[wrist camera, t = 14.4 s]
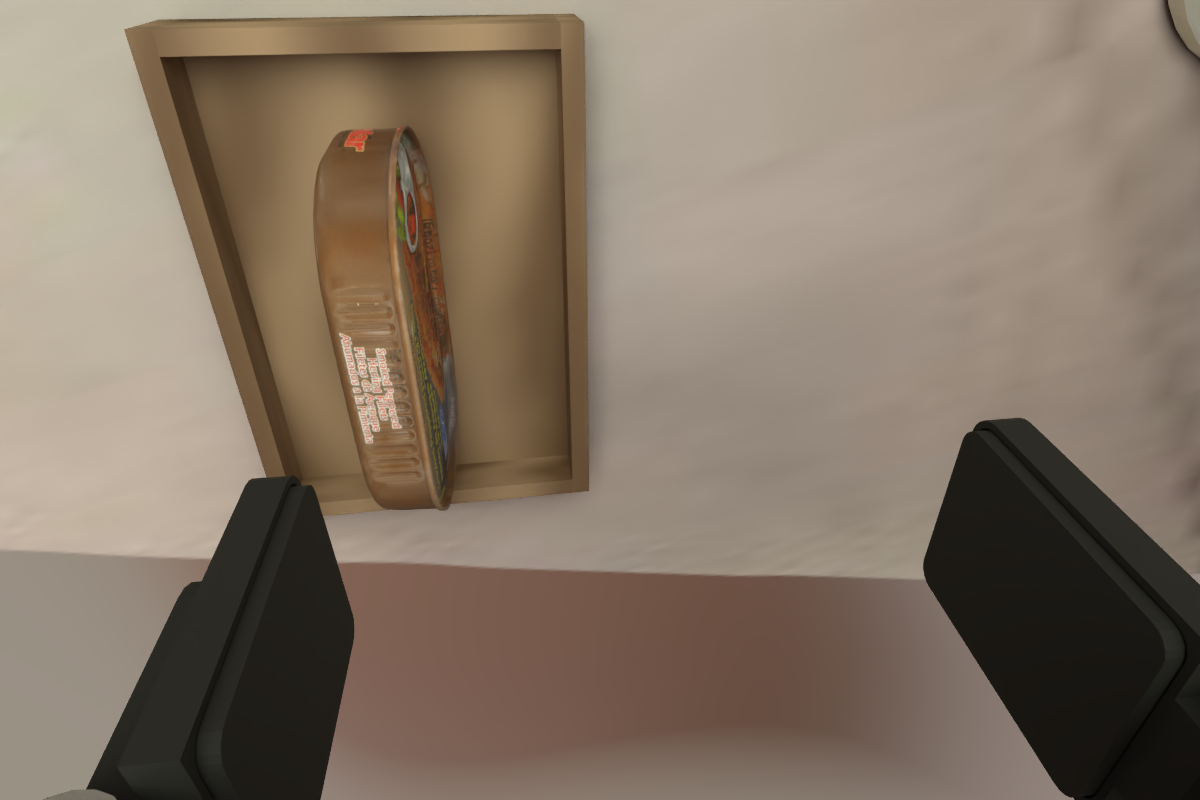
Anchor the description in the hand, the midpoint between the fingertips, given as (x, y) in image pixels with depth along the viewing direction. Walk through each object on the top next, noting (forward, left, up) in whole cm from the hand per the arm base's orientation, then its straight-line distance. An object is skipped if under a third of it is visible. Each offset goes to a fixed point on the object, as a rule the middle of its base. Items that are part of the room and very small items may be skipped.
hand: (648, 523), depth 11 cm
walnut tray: (+6, +6, -23) cm, 24 cm away
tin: (+6, +6, -22) cm, 23 cm away
